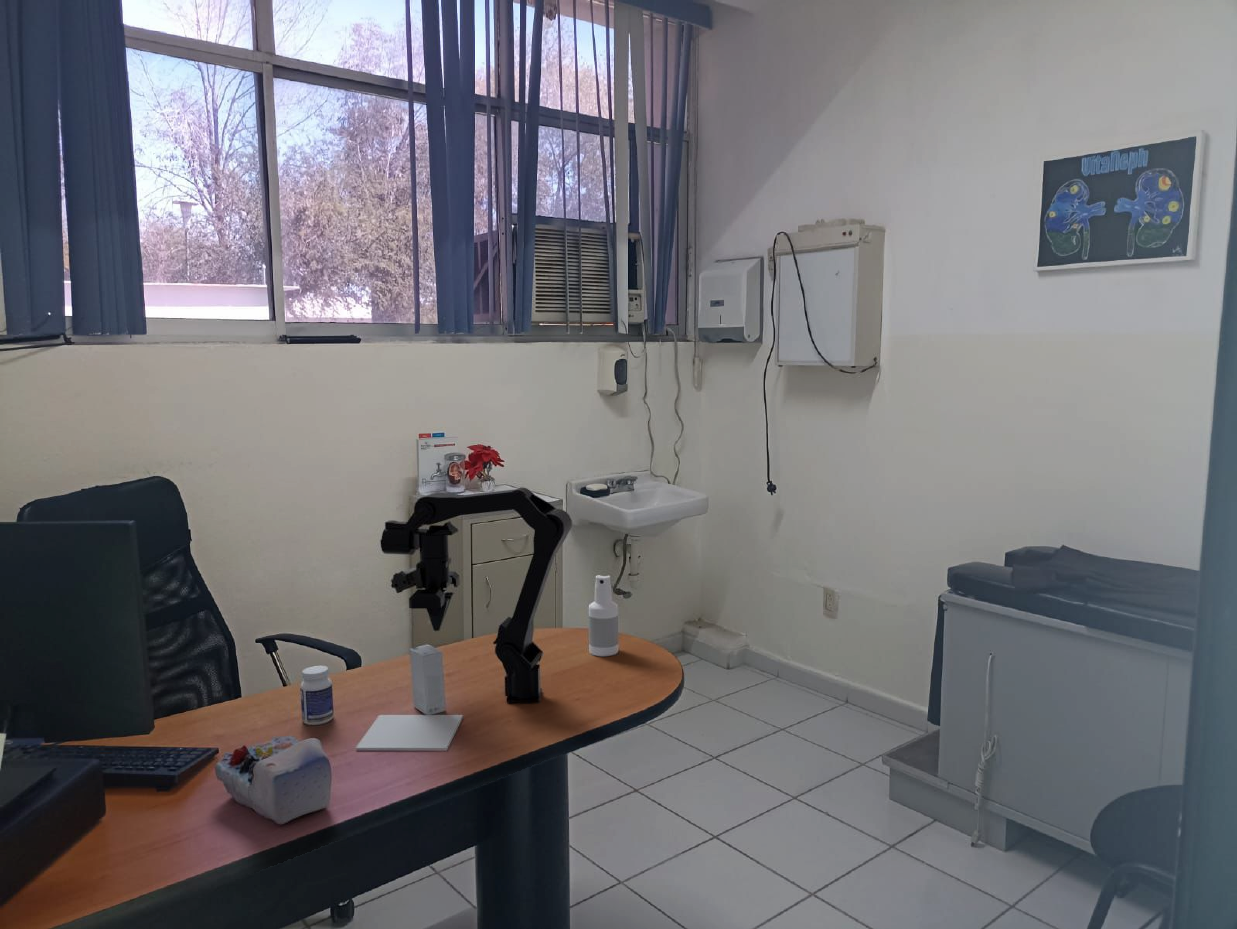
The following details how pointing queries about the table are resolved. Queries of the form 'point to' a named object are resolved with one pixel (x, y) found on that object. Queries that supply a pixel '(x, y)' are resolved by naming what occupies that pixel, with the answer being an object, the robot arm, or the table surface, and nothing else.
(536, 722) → the table surface
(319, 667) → the pill bottle
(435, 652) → the skincare box
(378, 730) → the mat
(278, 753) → the cell model
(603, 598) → the spray bottle
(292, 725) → the table surface
